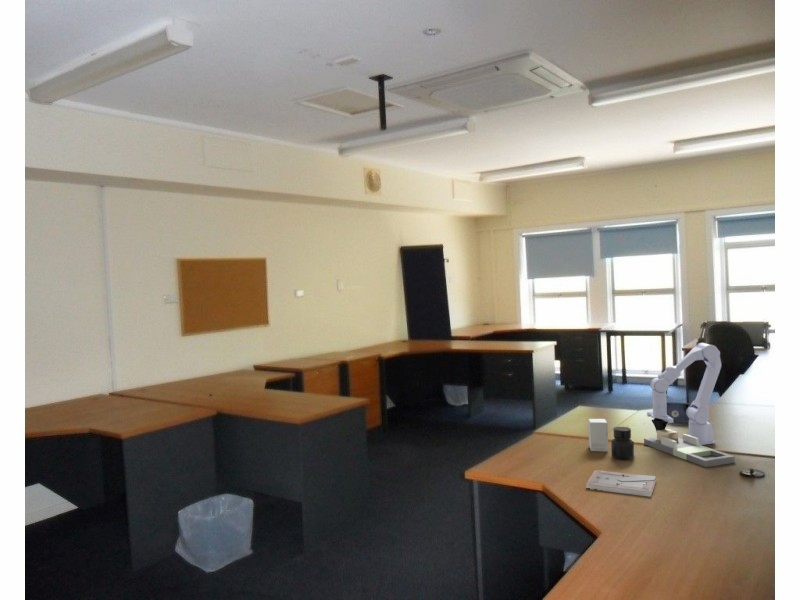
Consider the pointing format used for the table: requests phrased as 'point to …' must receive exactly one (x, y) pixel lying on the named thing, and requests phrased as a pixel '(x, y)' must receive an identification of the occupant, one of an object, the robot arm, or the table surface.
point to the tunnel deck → (690, 450)
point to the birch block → (667, 434)
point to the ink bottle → (622, 444)
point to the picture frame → (622, 483)
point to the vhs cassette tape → (678, 412)
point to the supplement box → (598, 434)
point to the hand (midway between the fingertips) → (660, 435)
